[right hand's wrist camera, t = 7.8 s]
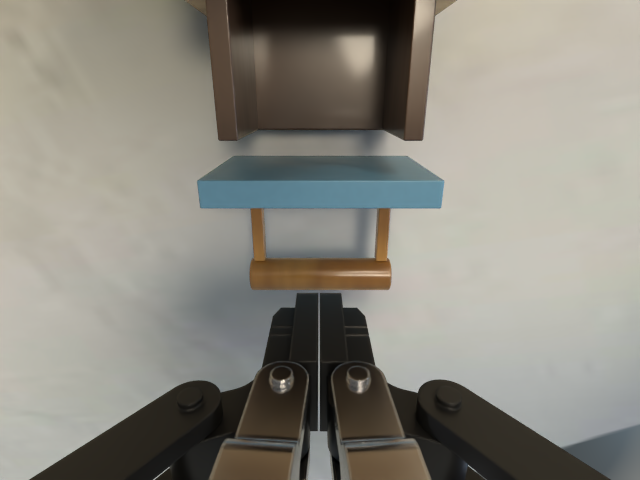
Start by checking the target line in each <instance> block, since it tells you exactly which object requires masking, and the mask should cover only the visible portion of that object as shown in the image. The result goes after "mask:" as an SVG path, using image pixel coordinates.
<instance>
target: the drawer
mask: <svg viewBox="0 0 640 480" xmlns="http://www.w3.org/2000/svg"><path fill="white" fill-rule="evenodd" d="M205 2H206V13H207V24H208V34H209V45H210V56H211V66H212V77H213V88H214V98H215V109H216V120H217V130H218V140H219V141H237V140H239V139H241V138H243V137H245V136H247V135H249V134H251V133H253V132H255V131H257V130H385V131H387V132H389V133H391V134H393V135H395V136H396V137H398V138H400V139H402V140H405V141H422V140H423V135H424V125H425V115H426V104H427V94H428V83H429V73H430V62H431V52H432V41H433V31H434V21H435V10H436V0H205ZM197 184H198V192H199V201H200V208H251V220H252V235H253V250H254V258H253V259H252V260H251V264H250V286H251V289H252V290H389V289H390V286H391V264H390V260H389V259H388V258H387V251H388V237H389V223H390V208H441V204H442V196H443V188H444V180H442V179H441V178H439V177H438V176H436V175H435V174H433V173H432V172H430V171H429V170H427V169H426V168H424V167H423V166H421V165H420V164H418V163H417V162H415V161H414V160H412V159H411V158H409V157H408V156H233V157H232V158H230V159H229V160H227V161H226V162H224V163H223V164H221V165H220V166H218V167H217V168H215V169H214V170H212V171H211V172H209V173H208V174H207V175H205V176H204V177H202V178H201V179H199V180H198V181H197ZM264 208H377V223H376V241H375V258H266V241H265V223H264Z"/></svg>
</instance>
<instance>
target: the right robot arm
mask: <svg viewBox="0 0 640 480" xmlns="http://www.w3.org/2000/svg"><path fill="white" fill-rule="evenodd" d="M310 431H318V293H297V297H296V305H295V308H280V309H279V311H278V312H277V313H276V314H275V315H274V316H273V319H272V324H271V328H270V333H269V337H268V342H267V347H266V351H265V356H264V361H263V365H262V368H261V369H260V370H259V371H258V372H257V374H256V376H255V378H254V380H253V381H251V382H250V383H249V384H247V385H245V386H243V387H240V388H237V389H234V390H229V391H225V392H221V393H220V390H219V388H218V387H217V386H216V385H215V384H213V383H211V382H208V381H199V380H198V381H191V382H187V383H183V384H181V385H179V386H177V387H175V388H173V389H172V390H170V391H169V392H167V393H165V394H164V395H162V396H161V397H159V398H158V399H156V400H154V401H153V402H151V403H150V404H148V405H147V406H145V407H143V408H142V409H140V410H139V411H137V412H135V413H134V414H132V415H131V416H129V417H128V418H126V419H124V420H123V421H121V422H120V423H118V424H116V425H115V426H113V427H112V428H110V429H109V430H107V431H105V432H104V433H102V434H101V435H99V436H98V437H96V438H94V439H93V440H91V441H90V442H88V443H86V444H85V445H83V446H82V447H80V448H79V449H77V450H75V451H74V452H72V453H71V454H69V455H67V456H66V457H64V458H63V459H61V460H60V461H58V462H56V463H55V464H53V465H52V466H50V467H49V468H47V469H45V470H44V471H42V472H41V473H39V474H37V475H36V476H34V477H33V478H31V479H30V480H153V479H154V478H156V477H157V476H158V475H159V474H161V473H162V472H163V471H164V470H166V469H167V468H168V467H169V466H170V468H169V469H168V470H166V471H165V472H164V473H163V474H161V475H160V476H159V477H158V478H156V479H155V480H308V473H309V464H310ZM320 431H327V436H328V448H329V451H330V464H331V473H332V480H485V479H483V478H482V477H481V476H480V475H479V474H477V473H476V472H475V471H474V470H476V471H477V472H478V473H480V474H481V475H482V476H483V477H485V478H486V479H487V480H610V479H609V478H607V477H606V476H604V475H602V474H601V473H599V472H598V471H596V470H595V469H593V468H591V467H590V466H588V465H587V464H585V463H584V462H582V461H580V460H579V459H577V458H576V457H574V456H573V455H571V454H569V453H568V452H566V451H565V450H563V449H561V448H560V447H558V446H557V445H555V444H554V443H552V442H550V441H549V440H547V439H546V438H544V437H542V436H541V435H539V434H538V433H536V432H535V431H533V430H531V429H530V428H528V427H527V426H525V425H524V424H522V423H520V422H519V421H517V420H516V419H514V418H512V417H511V416H509V415H508V414H506V413H505V412H503V411H501V410H500V409H498V408H497V407H495V406H493V405H492V404H490V403H489V402H487V401H486V400H484V399H482V398H481V397H479V396H478V395H476V394H475V393H473V392H471V391H470V390H468V389H467V388H465V387H463V386H462V385H460V384H457V383H455V382H452V381H447V380H432V381H428V382H426V383H424V384H423V385H422V386H421V387H420V389H419V391H418V393H415V392H411V391H407V390H403V389H400V388H397V387H395V386H392V385H391V384H389V383H387V381H386V378H385V376H384V374H383V372H382V371H381V370H380V369H379V368H377V367H376V366H375V362H374V357H373V353H372V348H371V343H370V338H369V333H368V328H367V324H366V319H365V316H364V315H363V314H362V313H361V312H360V310H359V309H358V308H343V305H342V296H341V293H320ZM468 465H469V466H471V467H472V468H473V469H474V470H472V469H471V468H470V467H469V466H468Z"/></svg>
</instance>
